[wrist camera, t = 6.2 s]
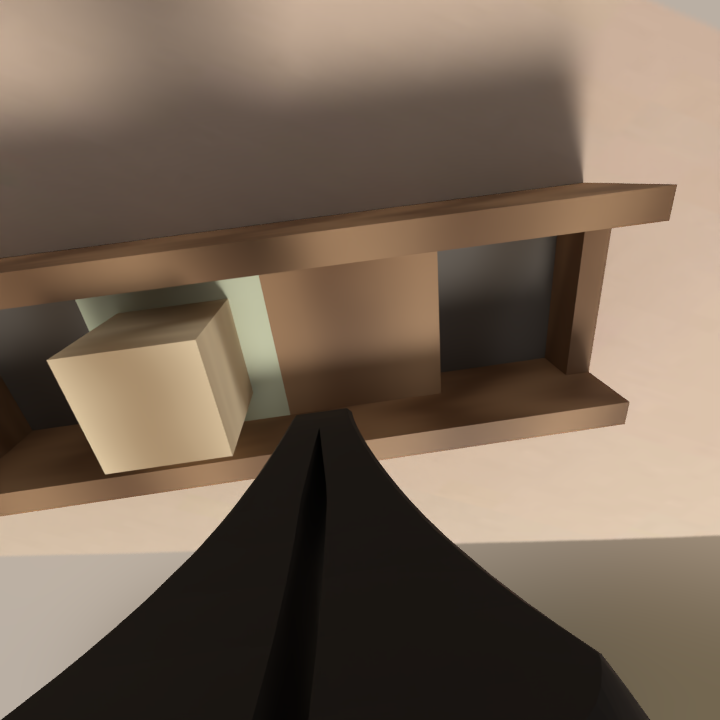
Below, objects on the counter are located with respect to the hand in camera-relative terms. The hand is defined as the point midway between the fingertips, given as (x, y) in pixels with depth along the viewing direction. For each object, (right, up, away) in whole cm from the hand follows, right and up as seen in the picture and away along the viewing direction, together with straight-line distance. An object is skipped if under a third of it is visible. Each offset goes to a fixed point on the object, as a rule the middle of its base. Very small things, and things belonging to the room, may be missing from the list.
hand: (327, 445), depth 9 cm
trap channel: (-3, +4, +7) cm, 9 cm away
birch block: (-6, +2, +5) cm, 8 cm away
